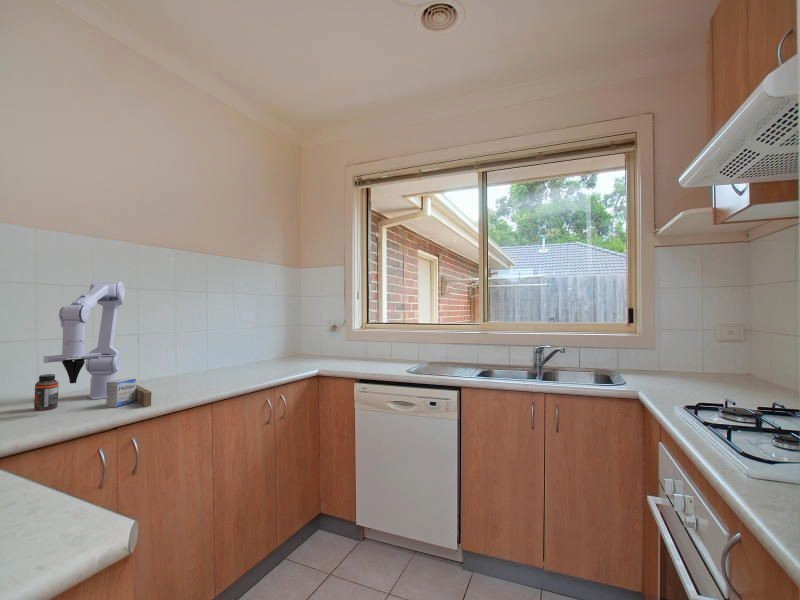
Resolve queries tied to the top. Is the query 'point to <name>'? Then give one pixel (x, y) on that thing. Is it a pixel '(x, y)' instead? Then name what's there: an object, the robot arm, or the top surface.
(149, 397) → the walnut board
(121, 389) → the medicine box
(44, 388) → the supplement bottle
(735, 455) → the top surface
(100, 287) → the robot arm
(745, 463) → the top surface
